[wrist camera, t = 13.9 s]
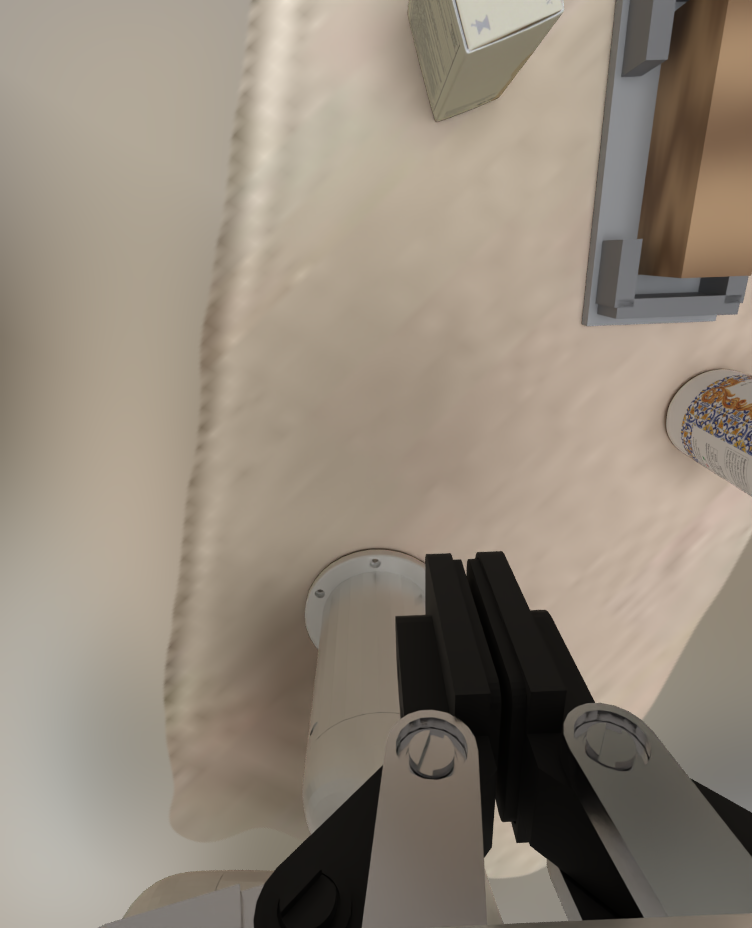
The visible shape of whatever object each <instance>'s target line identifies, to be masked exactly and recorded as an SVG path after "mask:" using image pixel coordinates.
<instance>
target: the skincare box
mask: <svg viewBox="0 0 752 928" xmlns="http://www.w3.org/2000/svg"><path fill="white" fill-rule="evenodd" d="M563 11H564V1H563V0H409V4H408V18H409V22H410V26H411V31H412V35H413V39H414V43H415V47H416V51H417V55H418V59H419V63H420V67H421V70H422V74H423V78H424V82H425V86H426V90H427V93H428V97H429V101H430V104H431V108H432V111H433V115H434V118H435V121H436V122H439V121H442V120H444V119H447V118H450V117H452V116H455V115H458V114H460V113H463V112H466V111H468V110H471V109H473V108H476V107H478V106H480V105H483V104H485V103H487V102H490V101H492V100H494V99H496V98H498V97H500V96H501V94H502V93H503V92H504V90H505V89H506V88H507V86H508V85H509V84H510V82H511V81H512V80H513V78H514V77H515V76H516V74H517V73H518V72H519V70H520V69H521V68H522V67H523V65H524V64H525V63H526V61H527V60H528V59H529V57H530V56H531V55H532V53H533V52H534V51H535V49H536V48H537V47H538V45H539V44H540V43H541V41H542V40H543V39H544V37H545V36H546V35H547V33H548V32H549V31H550V29H551V28H552V26H553V25H554V24H555V22H556V21H557V20H558V18H559V17H560V16H561V14H562V13H563Z"/></svg>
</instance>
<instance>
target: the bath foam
mask: <svg viewBox="0 0 752 928" xmlns="http://www.w3.org/2000/svg"><path fill="white" fill-rule="evenodd" d="M666 428H667V433H668V436H669V438H670V440H671V441H672V443H673V444H674V445H675V446H676V447H677V448H678V449H679V450H680V451H681V452H683V453H684V454H686V455H688V456H689V457H691V458H692V459H694V460H695V461H697V462H698V463H700V464H701V465H703V466H704V467H706V468H708V469H709V470H711V471H712V472H714V473H715V474H717V475H719V476H720V477H722V478H723V479H725V480H726V481H728V482H730V483H731V484H733V485H734V486H736V487H737V488H739V489H741V490H742V491H744V492H745V493H747V494H748V495H750V496H752V376H751V375H748V374H745V373H741V372H738V371H734V370H728V369H718V370H712V371H708V372H705V373H703V374H700V375H698V376H696V377H694V378H693V379H691V380H690V381H689V382H687V383H686V384H685V385H684V386H683V387H682V388H681V389H680V390H679V391H678V392H677V393H676V395H675V396H674V398H673V400H672V401H671V403H670V406H669V409H668V413H667V420H666Z"/></svg>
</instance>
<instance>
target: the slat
mask: <svg viewBox="0 0 752 928" xmlns="http://www.w3.org/2000/svg"><path fill="white" fill-rule="evenodd" d="M637 239H643V241H642V248H641V255H640V262H639V269H638V275H649V276H661V277H673V278H701V277H728V276H751V274H752V0H689V1H687V2H686V3H685V4H683V5H682V6H681V7H680V8H678V9H677V10H676V11H675V12H674V19H673V26H672V33H671V40H670V47H669V55H668V60H666V61H665V62H663V63H661V68H660V75H659V83H658V90H657V97H656V105H655V112H654V119H653V126H652V134H651V141H650V148H649V155H648V163H647V170H646V177H645V185H644V192H643V199H642V206H641V214H640V221H639V228H638V235H637Z"/></svg>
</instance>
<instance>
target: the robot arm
mask: <svg viewBox="0 0 752 928" xmlns="http://www.w3.org/2000/svg"><path fill="white" fill-rule="evenodd" d="M373 559H377V560H373ZM304 615H305V625H306V629H307V631H308V634H309V637H310V639H311V640H312V642H313V644H314V645H315V647H316V648H317V649H318V657H317V666H316V674H315V683H314V691H313V700H312V708H311V717H310V725H309V734H308V742H307V751H306V759H305V767H304V776H303V790H302V793H303V806H304V813H305V817H306V821H307V825H308V828H309V832H310V834H311V835H310V836H309V837H308V838H307V839H306V840H305V841H304V842H303V843H302V844H301V845H300V846H299V847H298V848H297V849H296V850H295V851H294V852H293V853H292V854H291V855H290V856H289V857H288V858H287V859H286V860H285V861H284V862H282V863H281V864H280V865H279V866H278V867H277V868H276V870H275V871H260V870H255V871H254V870H227V871H226V870H223V871H222V870H219V871H218V870H216V871H215V870H213V871H212V870H211V871H195V872H185V873H179V874H175V875H172V876H169V877H167V878H164V879H162V880H160V881H158V882H156V883H155V884H153V885H152V886H150V887H149V888H148V889H146V890H145V891H144V892H143V893H142V894H141V895H140V896H139V897H138V898H137V899H136V900H135V901H134V902H133V903H132V905H131V906H130V907H129V909H128V911H127V912H126V914H125V915H124V917H123V918H122V919H121V920H118V921H114V922H111V923H108V924H105V925H103V926H101V927H99V928H752V813H751V812H750V811H748V810H746V809H744V808H742V807H741V806H739V805H737V804H735V803H733V802H732V801H730V800H728V799H726V798H725V797H723V796H721V795H719V794H718V793H716V792H714V791H712V790H710V789H708V788H707V787H705V786H703V785H701V784H699V783H698V782H696V781H694V780H693V779H691V778H689V776H688V775H687V774H686V773H685V771H684V770H683V769H682V768H681V766H680V765H679V764H678V762H677V761H676V760H675V759H674V757H673V756H672V755H671V754H670V752H669V751H668V750H667V749H666V747H665V746H664V745H663V743H662V742H661V741H660V740H659V738H658V737H657V736H656V734H655V733H654V732H653V731H652V730H651V729H650V728H649V727H648V726H647V725H646V724H645V723H644V722H643V721H642V720H641V719H639V718H638V717H636V716H635V715H633V714H632V713H630V712H629V711H626V710H624V709H621V708H619V707H617V706H614V705H608V704H603V703H595V701H594V700H593V698H592V696H591V694H590V692H589V690H588V688H587V686H586V684H585V682H584V680H583V678H582V676H581V674H580V672H579V670H578V668H577V666H576V664H575V662H574V660H573V658H572V656H571V654H570V652H569V650H568V648H567V646H566V645H565V643H564V641H563V639H562V637H561V635H560V633H559V631H558V629H557V627H556V625H555V623H554V621H553V619H552V617H551V615H550V614H549V612H548V611H546V610H530V609H529V607H528V605H527V603H526V600H525V598H524V596H523V594H522V592H521V590H520V587H519V585H518V583H517V581H516V579H515V576H514V574H513V572H512V570H511V568H510V566H509V563H508V561H507V559H506V557H505V555H504V553H503V552H502V551H496V552H477V553H476V558H475V559H468V561H467V576H466V574H465V570H464V567H463V564H462V561H461V560H453V558H452V555H451V554H450V553H447V554H426V557H425V564H424V563H423V562H421V561H419V560H418V559H416V558H414V557H412V556H409V555H407V554H404V553H401V552H396V551H390V550H366V551H360V552H356V553H353V554H350V555H347V556H344V557H342V558H340V559H339V560H337V561H335V562H333V563H332V564H330V565H329V566H328V567H327V568H326V569H324V570H323V571H322V572H321V573H320V575H319V576H318V577H317V578H316V579H315V581H314V582H313V584H312V586H311V588H310V590H309V593H308V597H307V601H306V606H305V614H304ZM495 799H496V803H497V808H498V812H499V816H500V819H501V821H502V822H511V823H512V827H513V831H514V834H515V838H516V842H517V843H527V842H529V844H530V846H531V847H532V848H534V849H535V850H536V851H538V852H539V853H540V854H541V855H543V856H544V857H545V858H547V868H548V872H549V875H550V879H551V881H552V883H553V885H554V888H555V890H556V892H557V895H558V897H559V899H560V902H561V904H562V906H563V909H564V911H565V913H566V916H567V918H568V920H569V921H561V922H540V923H517V924H504V923H503V920H502V918H501V915H500V912H499V909H498V907H497V904H496V901H495V898H494V895H493V892H492V889H491V886H490V883H489V880H488V877H487V874H486V871H485V868H484V857H485V856H486V855H487V853H488V852H489V850H490V849H491V848H492V836H493V822H494V809H495Z"/></svg>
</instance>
